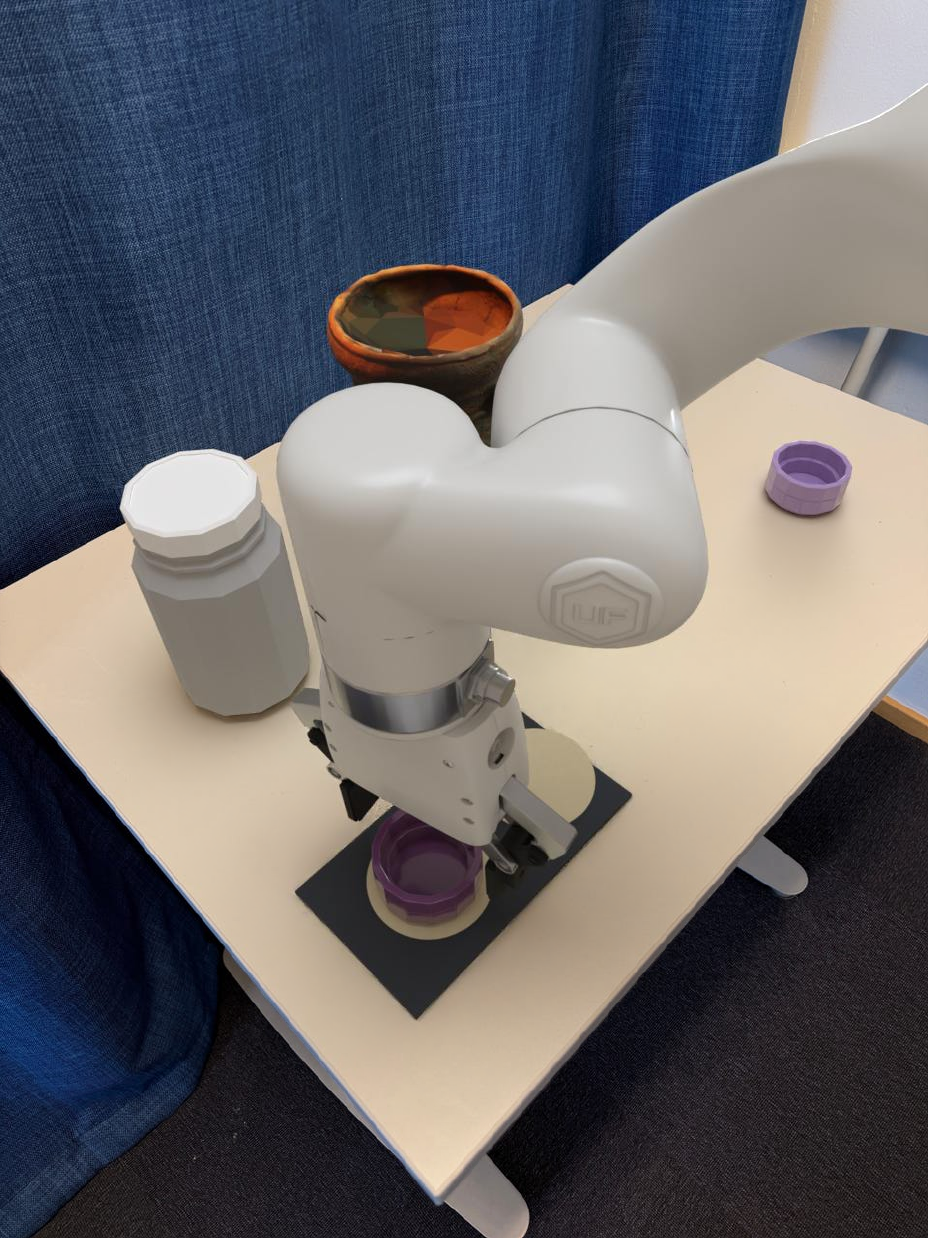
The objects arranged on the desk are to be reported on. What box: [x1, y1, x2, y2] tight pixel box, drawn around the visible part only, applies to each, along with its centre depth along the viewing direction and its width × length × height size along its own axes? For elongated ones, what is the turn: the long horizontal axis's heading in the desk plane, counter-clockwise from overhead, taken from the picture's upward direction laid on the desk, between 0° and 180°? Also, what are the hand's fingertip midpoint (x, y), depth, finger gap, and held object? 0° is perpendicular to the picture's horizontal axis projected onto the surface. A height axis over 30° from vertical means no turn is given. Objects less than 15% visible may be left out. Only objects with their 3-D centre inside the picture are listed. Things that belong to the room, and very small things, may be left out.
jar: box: [119, 448, 310, 717], centre depth 62 cm, size 10×10×18 cm
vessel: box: [326, 263, 524, 448], centre depth 73 cm, size 14×14×20 cm
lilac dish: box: [764, 439, 853, 516], centre depth 80 cm, size 7×7×3 cm
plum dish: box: [372, 809, 483, 925], centre depth 55 cm, size 7×7×3 cm
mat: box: [294, 710, 633, 1021], centre depth 59 cm, size 20×11×1 cm, turn 136°
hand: (435, 839), depth 53 cm, fingers open, 9 cm apart
